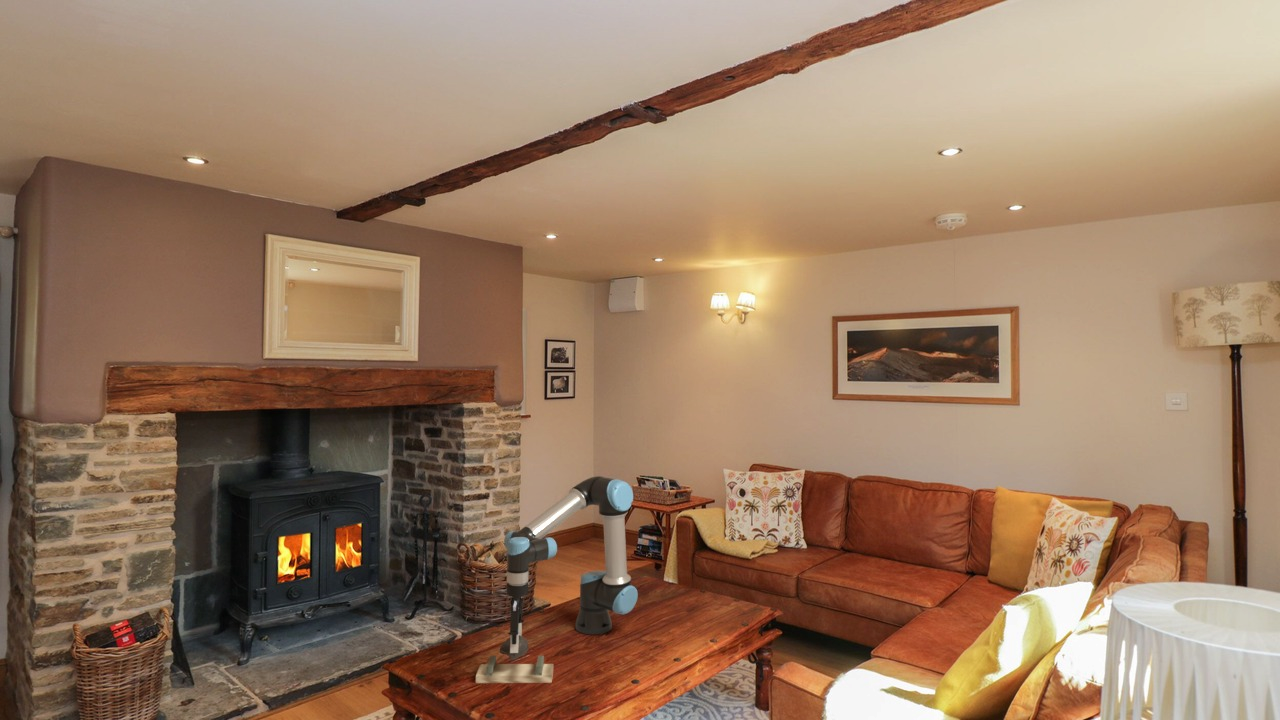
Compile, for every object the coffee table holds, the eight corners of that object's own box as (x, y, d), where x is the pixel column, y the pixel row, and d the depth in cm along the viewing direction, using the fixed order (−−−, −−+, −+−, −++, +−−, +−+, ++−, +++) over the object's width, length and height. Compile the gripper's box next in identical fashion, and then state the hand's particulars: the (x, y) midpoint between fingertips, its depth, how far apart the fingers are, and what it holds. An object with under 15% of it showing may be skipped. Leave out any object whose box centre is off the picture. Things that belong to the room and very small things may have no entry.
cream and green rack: (553, 670, 245) (553, 655, 245) (551, 682, 236) (551, 666, 236) (480, 671, 243) (480, 655, 243) (475, 683, 234) (476, 667, 234)
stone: (497, 669, 237) (510, 656, 231) (493, 645, 242) (505, 632, 237) (523, 667, 242) (535, 654, 237) (518, 643, 248) (530, 630, 243)
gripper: (510, 573, 250) (509, 635, 250) (502, 592, 229) (500, 660, 229) (531, 573, 250) (529, 635, 250) (524, 592, 229) (523, 660, 229)
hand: (515, 647), depth 240 cm, fingers closed on stone, 8 cm apart
